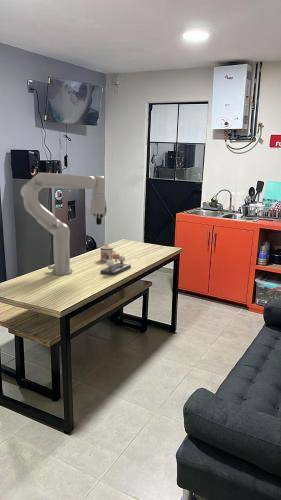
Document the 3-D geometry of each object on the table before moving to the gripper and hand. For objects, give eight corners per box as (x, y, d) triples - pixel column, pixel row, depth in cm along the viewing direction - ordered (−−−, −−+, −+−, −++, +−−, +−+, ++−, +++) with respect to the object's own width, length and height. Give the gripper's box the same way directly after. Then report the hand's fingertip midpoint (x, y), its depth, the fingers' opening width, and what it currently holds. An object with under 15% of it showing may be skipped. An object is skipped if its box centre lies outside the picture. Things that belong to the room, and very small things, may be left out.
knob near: (111, 270, 236) (111, 262, 234) (105, 269, 238) (105, 261, 236) (115, 268, 239) (115, 260, 238) (109, 267, 241) (109, 259, 240)
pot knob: (117, 263, 241) (117, 254, 240) (111, 262, 243) (111, 254, 242) (120, 261, 245) (120, 253, 243) (114, 260, 247) (114, 252, 245)
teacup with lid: (97, 260, 269) (97, 244, 267) (104, 257, 277) (104, 241, 274) (112, 262, 264) (112, 246, 261) (119, 259, 272) (119, 243, 269)
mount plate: (114, 275, 234) (114, 272, 233) (100, 273, 238) (100, 270, 238) (130, 267, 252) (130, 264, 251) (117, 265, 256) (117, 262, 256)
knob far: (122, 265, 248) (122, 257, 246) (117, 264, 250) (117, 256, 248) (126, 263, 251) (126, 255, 250) (120, 262, 253) (120, 254, 252)
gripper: (85, 195, 240) (86, 224, 245) (105, 196, 233) (105, 226, 238) (92, 194, 247) (92, 222, 251) (111, 196, 240) (111, 224, 244)
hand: (98, 224), depth 244 cm, fingers closed
